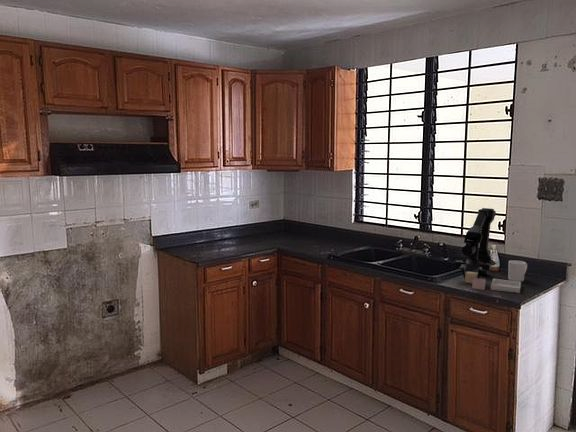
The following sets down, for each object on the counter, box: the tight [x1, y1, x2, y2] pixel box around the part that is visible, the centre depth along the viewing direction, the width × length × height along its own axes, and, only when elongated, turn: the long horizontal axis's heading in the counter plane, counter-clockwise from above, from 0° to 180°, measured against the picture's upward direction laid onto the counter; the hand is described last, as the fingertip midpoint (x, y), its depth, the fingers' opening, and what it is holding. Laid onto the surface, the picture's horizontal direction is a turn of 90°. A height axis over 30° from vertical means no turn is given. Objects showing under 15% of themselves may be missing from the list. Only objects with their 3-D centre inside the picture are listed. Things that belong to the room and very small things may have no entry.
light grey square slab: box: [490, 278, 522, 294], centre depth 256 cm, size 14×14×2 cm
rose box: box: [471, 277, 487, 291], centre depth 257 cm, size 6×6×4 cm
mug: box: [507, 259, 528, 283], centre depth 272 cm, size 11×9×10 cm
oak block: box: [464, 271, 478, 284], centre depth 268 cm, size 6×6×5 cm
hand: (471, 279), depth 268 cm, fingers open, 6 cm apart
